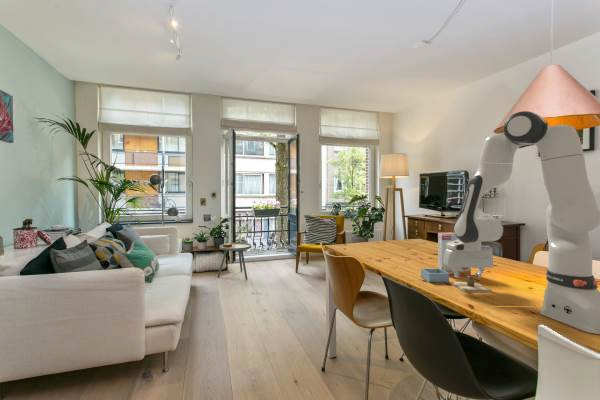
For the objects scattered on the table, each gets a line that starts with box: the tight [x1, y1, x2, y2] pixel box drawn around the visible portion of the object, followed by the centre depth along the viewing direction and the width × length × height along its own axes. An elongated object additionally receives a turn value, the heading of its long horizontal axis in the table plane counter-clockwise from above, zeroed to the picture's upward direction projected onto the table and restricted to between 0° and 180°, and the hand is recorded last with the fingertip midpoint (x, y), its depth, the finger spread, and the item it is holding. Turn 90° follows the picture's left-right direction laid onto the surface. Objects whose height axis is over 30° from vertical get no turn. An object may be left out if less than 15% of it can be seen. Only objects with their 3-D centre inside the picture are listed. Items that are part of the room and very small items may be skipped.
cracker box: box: [437, 231, 472, 276], centre depth 154 cm, size 14×6×21 cm, turn 85°
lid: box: [450, 275, 493, 293], centre depth 131 cm, size 11×11×5 cm
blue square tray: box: [420, 268, 450, 284], centre depth 142 cm, size 9×9×4 cm
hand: (467, 277), depth 131 cm, fingers open, 8 cm apart
